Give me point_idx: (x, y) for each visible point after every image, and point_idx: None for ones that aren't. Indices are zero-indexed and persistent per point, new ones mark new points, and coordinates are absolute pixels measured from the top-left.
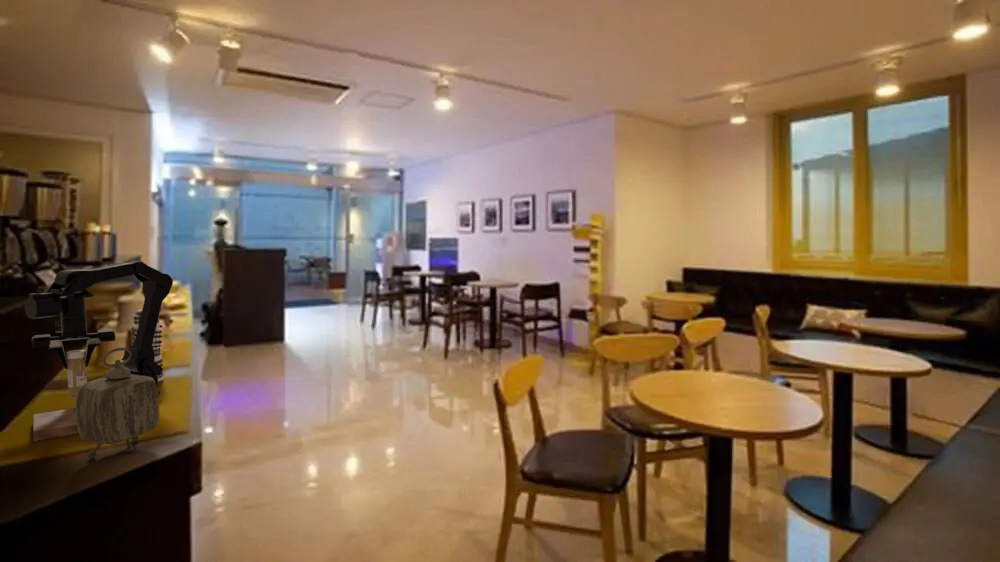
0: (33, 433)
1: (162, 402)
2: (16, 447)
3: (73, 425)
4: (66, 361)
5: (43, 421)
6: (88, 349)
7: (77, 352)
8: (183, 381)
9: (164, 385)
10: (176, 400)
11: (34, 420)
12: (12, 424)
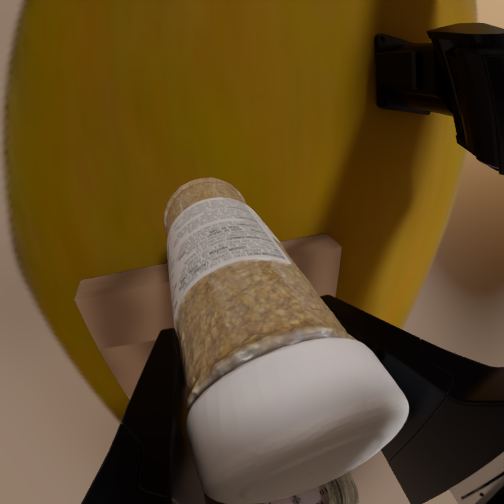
0: None
1: (410, 214)
2: (123, 413)
3: None
4: (179, 380)
5: (135, 373)
6: (400, 467)
7: (317, 485)
8: (468, 22)
9: (439, 18)
10: (431, 213)
11: (106, 359)
12: (22, 261)
